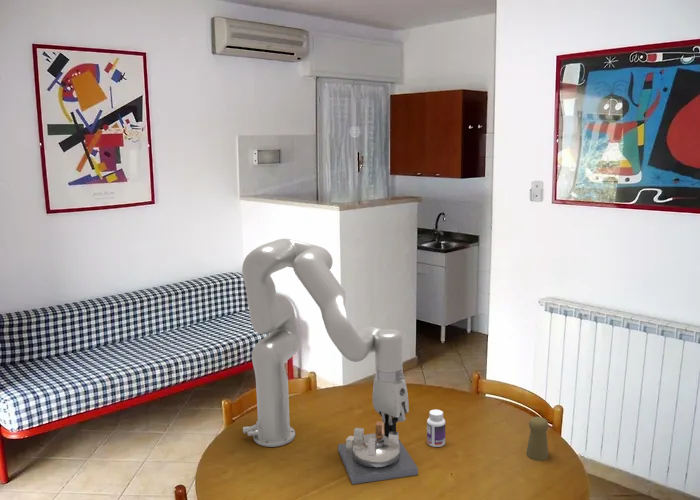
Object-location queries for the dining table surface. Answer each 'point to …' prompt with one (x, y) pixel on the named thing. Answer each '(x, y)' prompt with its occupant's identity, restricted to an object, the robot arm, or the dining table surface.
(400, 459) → the base plate
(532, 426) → the olive pawn
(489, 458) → the dining table surface
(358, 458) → the round disc with cubes
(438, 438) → the pill bottle
